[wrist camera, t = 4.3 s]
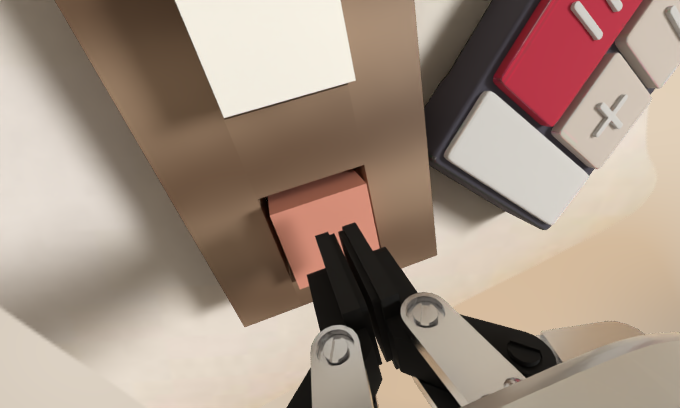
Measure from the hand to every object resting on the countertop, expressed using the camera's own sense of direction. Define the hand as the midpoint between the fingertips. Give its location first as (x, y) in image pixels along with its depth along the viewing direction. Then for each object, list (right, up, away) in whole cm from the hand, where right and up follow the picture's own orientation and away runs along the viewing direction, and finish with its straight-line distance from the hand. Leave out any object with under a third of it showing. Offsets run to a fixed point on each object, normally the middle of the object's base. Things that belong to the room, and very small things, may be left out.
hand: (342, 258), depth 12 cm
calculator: (+12, +10, +7) cm, 17 cm away
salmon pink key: (-2, +2, +6) cm, 6 cm away
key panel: (-3, +6, +4) cm, 8 cm away
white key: (-3, +9, 0) cm, 10 cm away
